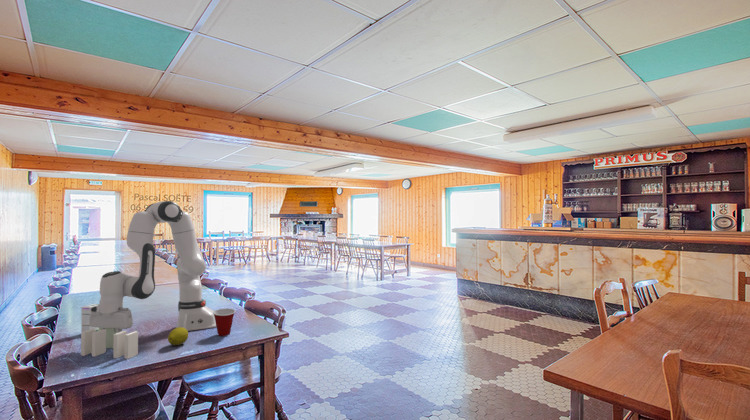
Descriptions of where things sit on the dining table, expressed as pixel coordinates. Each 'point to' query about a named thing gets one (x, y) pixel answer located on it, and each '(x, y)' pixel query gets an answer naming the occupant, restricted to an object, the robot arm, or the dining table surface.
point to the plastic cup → (224, 320)
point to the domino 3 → (110, 337)
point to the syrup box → (87, 318)
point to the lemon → (178, 336)
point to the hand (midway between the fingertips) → (111, 337)
